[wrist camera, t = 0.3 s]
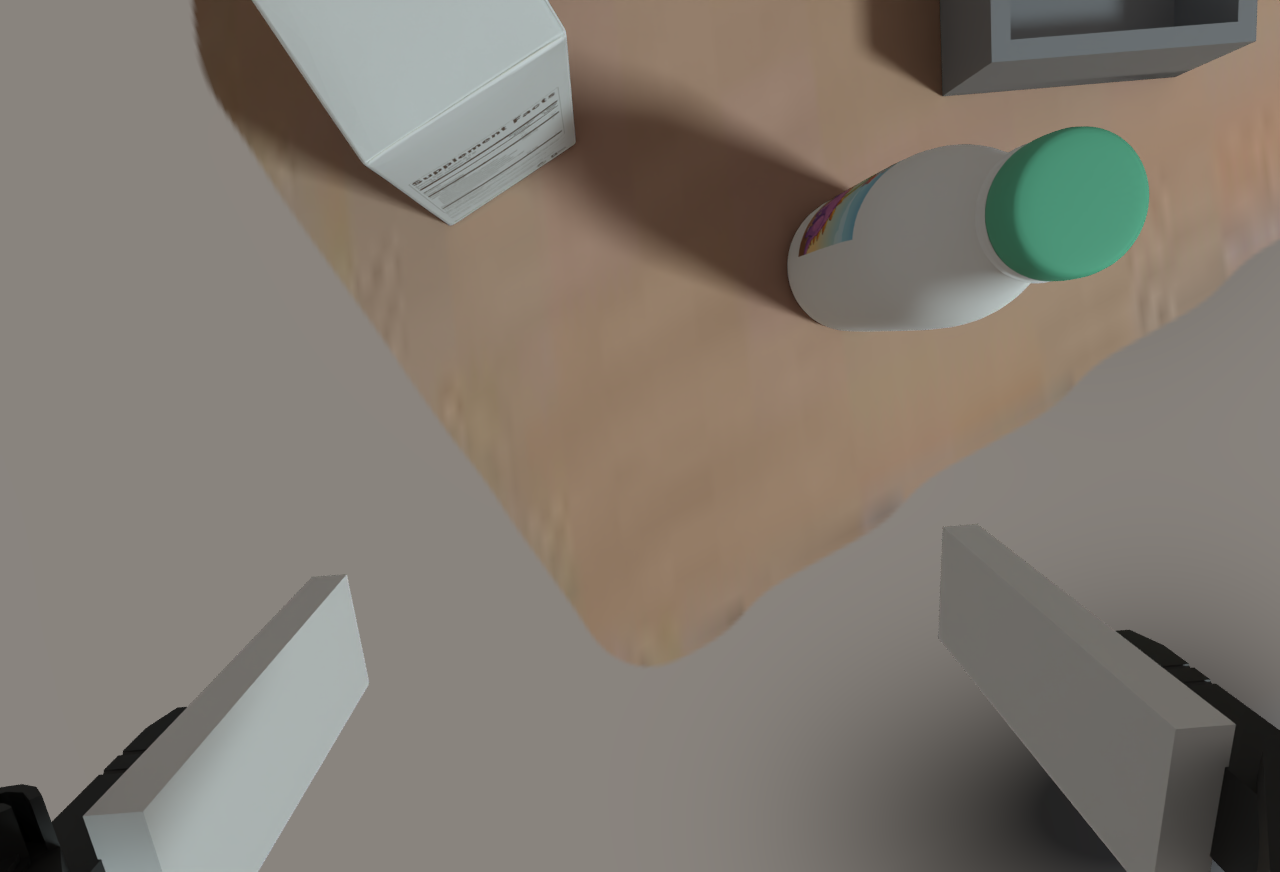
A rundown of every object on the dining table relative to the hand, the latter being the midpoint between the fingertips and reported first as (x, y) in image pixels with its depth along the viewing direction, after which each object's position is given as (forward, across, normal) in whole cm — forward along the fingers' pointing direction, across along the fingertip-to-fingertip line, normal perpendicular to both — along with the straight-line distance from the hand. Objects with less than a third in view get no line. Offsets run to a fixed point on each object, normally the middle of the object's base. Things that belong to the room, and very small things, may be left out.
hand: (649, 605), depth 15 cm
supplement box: (+28, -8, +15) cm, 33 cm away
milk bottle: (+28, +13, +6) cm, 32 cm away
